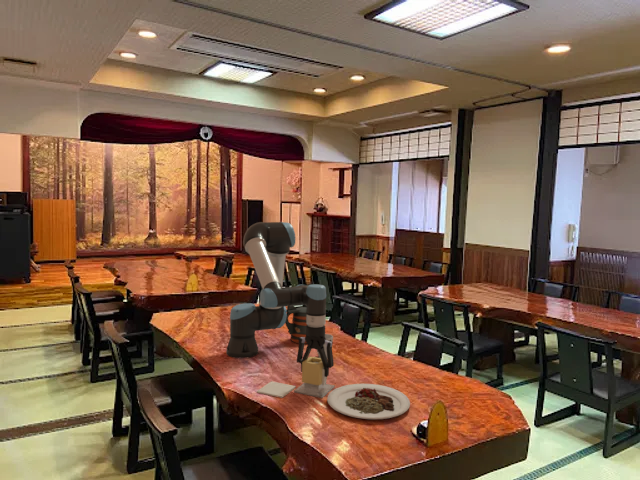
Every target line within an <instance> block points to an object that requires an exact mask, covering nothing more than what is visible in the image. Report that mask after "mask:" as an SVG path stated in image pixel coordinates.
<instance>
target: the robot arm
mask: <svg viewBox="0 0 640 480" xmlns="http://www.w3.org/2000/svg"><path fill="white" fill-rule="evenodd" d="M296 239H297V238H296V232H295V228H294V227H293V225H292V224H291V223H290V222H286V221H285V222H284V221H275V222H274V221H271V222H268V221H266V222H264V221H263V222H262V221H259V222H256V223H253V224H252V225H250V226H249V227H248V228H247V230H246V231H245V233H244V236H243V241H242V244H243V247H244V251H245V252H246V253H247V254H248V255H249V257H250V260H251V262H252V265H253V267H254V270H255V272H256V275H257V277H258V280H259V283H260V286H261V290H260V294H259V305H255V304H254V303H251V302H250V303H245V302H244V303H239V304H236V305H234V306H233V307H232V308H230V312H229V313H230V314H229V320H230V321H229V322H230V323H229V326H230V327H229V329H230V330H229V333H230V334H229V335H230V338H229V340H228V344H227V347H226V350H225V351H226V353H225V354H226V356H228V357H230V358H234V359H247V358H248V359H249V358H253V357H256V356H257V355H258V354H259V346H258V343H257V340H256V331H264V330H276V329H280V328H282V327H284V326H285V325H286V324H285V322H286V318H287V311H286V310H287V306H294V307H297V306H304V307H306V324H307V325H306V337H301V338H299V339H298V340H299V343H298V348H297V349H298V350H297V355H296V356H297V357H296V363H299V364H300V369H301V370H300V371H301V373H302V362H303V361H305V360H306V359H307V358H309V357H310V354H311V351H312V350H313V349H315V350H316V351H317V350H318V352H319V354H320V357H321V360H322V363H323V366H324V368H323V369H322V385H323V386H324V385H325V384H327V380H328V376H329V374H330V369H332V367H334V365H335V364H334V357H333V355H334V354H333V345H334V341H333V342H332V341H327V340H326V339H325V334H326V321H327V320H326V312H327V311H326V310H327V287H326V286H325V285H323V284H317V283H315V284H308V285H307V284H301V283H300V284H298V285H296V286H285V287H283V282H284V275H285V273H284V272H285V265H286V264H285V263H286V257H287V255H288V254H289V253H290V249H291V248H294V246H295V245H296V241H297V240H296ZM305 341H306V342H307V345H306V348H305V344H304V342H305ZM324 344H326V347H327V357H326V354H325V351H324V346H323V345H324ZM304 350H305V352H304ZM327 359H328V360H327Z"/></svg>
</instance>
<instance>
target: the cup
mask: <svg viewBox="0 0 640 480" xmlns="http://www.w3.org/2000/svg"><path fill="white" fill-rule="evenodd" d="M325 339H326V340H327V341H332V342H333V343H334V341H333V340H334V336H333V335H332V334H330V333H329V334H328V333H325ZM323 346H324V351H325V354H326V357H327V347H326V344H324V345H323ZM316 353H317V355H318V358H321V357H320V354H319V352H318V350H317V349H316Z"/></svg>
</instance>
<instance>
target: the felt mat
mask: <svg viewBox="0 0 640 480" xmlns="http://www.w3.org/2000/svg"><path fill="white" fill-rule="evenodd" d="M295 389H297V387H296V385H292V384H287V383H282V382H277V381H272V380H271V381H270V382H268V383H267V384H265V385H264V386H262V387H261V388H259V389H258V390H256V392H257V393H258V394H261V395H266V396H271V397H277V398H281V399H282V398H284V397H285V396H286V395H288V394H290V392H292V391H294V390H295Z"/></svg>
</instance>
